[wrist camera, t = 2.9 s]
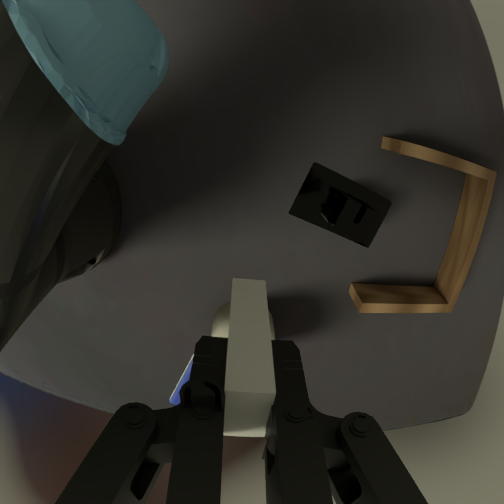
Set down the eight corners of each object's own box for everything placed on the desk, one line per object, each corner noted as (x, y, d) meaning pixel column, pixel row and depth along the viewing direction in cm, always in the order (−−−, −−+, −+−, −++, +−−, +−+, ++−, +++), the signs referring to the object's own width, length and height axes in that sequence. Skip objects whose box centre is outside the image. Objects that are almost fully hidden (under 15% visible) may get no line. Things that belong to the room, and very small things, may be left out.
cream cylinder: (212, 343, 36) (206, 393, 29) (213, 296, 33) (206, 346, 26) (269, 347, 36) (273, 397, 29) (277, 301, 33) (284, 351, 26)
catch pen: (348, 291, 33) (359, 312, 29) (382, 136, 26) (401, 140, 22) (436, 294, 34) (451, 312, 30) (475, 164, 26) (496, 172, 23)
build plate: (402, 200, 29) (424, 214, 25) (371, 257, 32) (388, 278, 28) (302, 147, 27) (313, 153, 23) (271, 215, 30) (276, 232, 25)
